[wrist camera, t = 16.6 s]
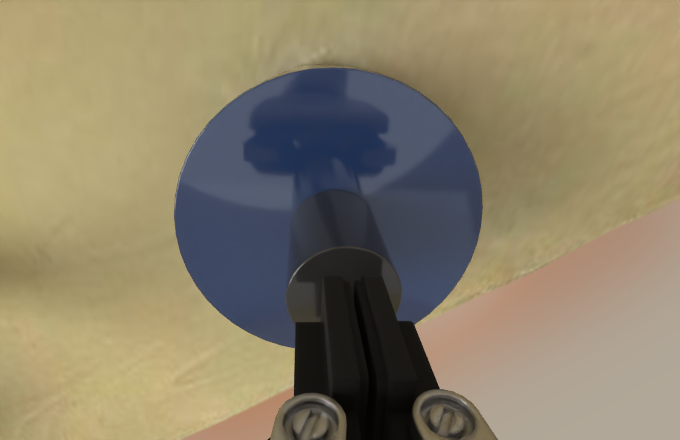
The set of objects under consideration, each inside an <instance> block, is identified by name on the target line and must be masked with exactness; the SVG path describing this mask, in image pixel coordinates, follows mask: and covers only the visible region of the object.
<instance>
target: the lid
mask: <svg viewBox="0 0 680 440" xmlns="http://www.w3.org/2000/svg"><path fill="white" fill-rule="evenodd" d="M482 209H483V206H482V188H481V183H480V178H479V173H478V169H477V166H476V163H475V161H474V158H473V155H472V152H471V150H470V149H469V147H468V145H467V143H466V141H465V139H464V137H463V135H462V134H461V133H460V131H459V130H458V129H457V127H456V126H455V124H454V123H453V122H452V120H451V119H450V118H449V117H448V116H447V115H446V114H445V113H444V112H443V111H442V110H441V109H440V108H439V107H438V106H437V105H436V104H435V103H433V102H432V101H431V100H429V99H428V98H427V97H425V96H424V95H423V94H421V93H420V92H419V91H417V90H415V89H413V88H411V87H409V86H407V85H406V84H404V83H402V82H400V81H398V80H395V79H393V78H390V77H387V76H384V75H382V74H379V73H376V72H372V71H367V70H362V69H358V68H350V67H336V66H328V67H314V68H306V69H301V70H296V71H292V72H287V73H284V74H281V75H279V76H276V77H273V78H270V79H268V80H265V81H263V82H261V83H259V84H258V85H256V86H254V87H252V88H250V89H248V90H246V91H245V92H243V93H242V94H241V95H239V96H238V97H237V98H235V99H234V100H232V101H231V102H230V103H228V104H227V105H226V106H225V107H224V108H223V109H222V110H221V111H220V112H219V113H218V114H217V115H216V116H215V117H214V118H213V119H212V120H211V121H210V122H209V123H208V124H207V126H206V127H205V128H204V129H203V131H202V132H201V133H200V135H199V136H198V137H197V139H196V141H195V142H194V144H193V146H192V148H191V150H190V151H189V153H188V155H187V157H186V159H185V162H184V165H183V168H182V170H181V173H180V176H179V180H178V185H177V190H176V194H175V209H174V219H175V230H176V237H177V241H178V245H179V249H180V253H181V255H182V258H183V260H184V263H185V265H186V268H187V270H188V272H189V274H190V276H191V277H192V279H193V281H194V283H195V284H196V286H197V287H198V289H199V290H200V291H201V293H202V294H203V295H204V296H205V298H206V299H207V300H208V301H209V302H210V303H211V304H212V305H213V306H214V307H215V308H216V309H217V310H218V311H219V312H220V313H221V314H222V315H223V316H225V317H226V318H227V319H229V320H230V321H231V322H232V323H234V324H235V325H237V326H239V327H240V328H242V329H244V330H245V331H247V332H248V333H251V334H253V335H255V336H257V337H259V338H262V339H264V340H266V341H269V342H272V343H276V344H279V345H282V346H286V347H291V348H295V325H296V322H321V299H322V277H323V275H342V277H343V280H349V281H350V285H351V290H352V295H353V293H354V282H355V280H361V278H362V275H382V277H383V280H384V283H385V286H386V288H387V291H388V294H389V297H390V300H391V303H392V306H393V309H394V312H395V315H396V317H397V320H398V321H412V322H413V324H414V325H415V324H416V323H417V322H419V321H420V320H422V319H423V318H424V317H426V316H427V315H428V314H430V313H431V312H432V311H433V310H434V309H435V308H436V307H437V306H438V305H439V304H441V303H442V302H443V300H444V299H445V298H446V297H447V296H448V295H449V294H450V292H451V291H452V290H453V289H454V287H455V286H456V284H457V283H458V282H459V280H460V279H461V277H462V276H463V274H464V272H465V270H466V268H467V266H468V264H469V262H470V260H471V258H472V255H473V253H474V250H475V247H476V245H477V241H478V237H479V232H480V228H481V220H482Z"/></svg>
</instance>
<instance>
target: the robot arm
mask: <svg viewBox="0 0 680 440" xmlns="http://www.w3.org/2000/svg"><path fill="white" fill-rule="evenodd" d="M268 440H498V439H497V438H496V436H495V435H494V433H493V432H492V430H491V429H490V427H489V426H488V424H487V423H486V421H485V420H484V418H483V417H482V415H481V414H480V412H479V410H478V409H477V408H476V407H475V406H474V405H473V404H472V402H470V401H469V400H467V399H466V398H465V397H463V396H462V395H459V394H457V393H455V392H453V391H448V390H443V389H440V388H439V386H438V383H437V381H436V378H435V376H434V373H433V371H432V369H431V366H430V363H429V361H428V358H427V356H426V354H425V351H424V348H423V346H422V343H421V341H420V338H419V336H418V333H417V331H416V328H415V326H414V324H413V322H412V321H398V320H397V317H396V315H395V312H394V309H393V306H392V303H391V300H390V297H389V294H388V291H387V288H386V286H385V283H384V280H383V277H382V275H362V278H361V280H355V282H354V293H353V295H352V290H351V285H350V281H349V280H343V277H342V275H323V277H322V299H321V322H296V325H295V371H294V397H293V398H291V399H289V400H288V401H286V402H285V403H284V404H283V405H282V407H281V408H280V409H279V411H278V413H277V415H276V418H275V422H274V426H273V430H272V434H271V437H270V438H269V439H268Z"/></svg>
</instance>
